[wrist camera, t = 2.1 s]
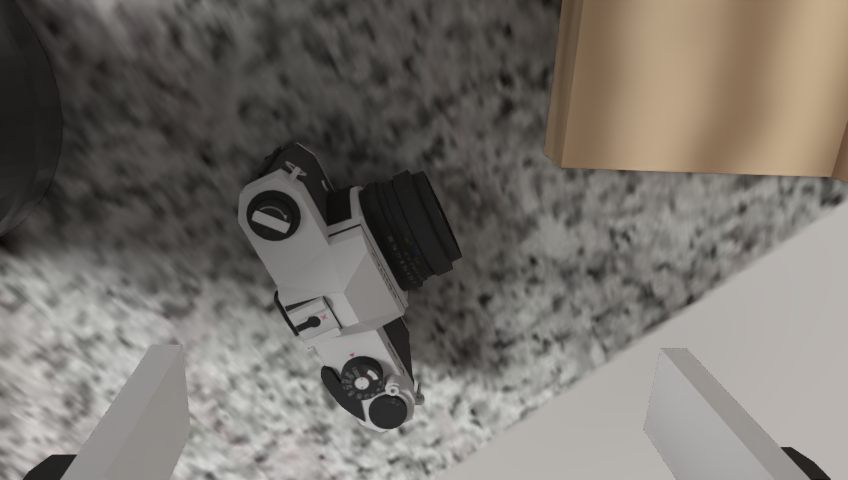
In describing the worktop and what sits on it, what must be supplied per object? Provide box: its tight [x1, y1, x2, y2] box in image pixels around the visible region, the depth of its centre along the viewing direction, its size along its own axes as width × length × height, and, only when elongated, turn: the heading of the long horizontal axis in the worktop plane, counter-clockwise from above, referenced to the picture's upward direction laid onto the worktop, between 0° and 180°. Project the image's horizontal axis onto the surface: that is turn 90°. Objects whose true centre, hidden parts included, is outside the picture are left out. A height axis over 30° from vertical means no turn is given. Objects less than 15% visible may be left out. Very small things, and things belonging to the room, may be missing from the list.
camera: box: [238, 142, 462, 432], centre depth 27 cm, size 13×8×9 cm, turn 27°
